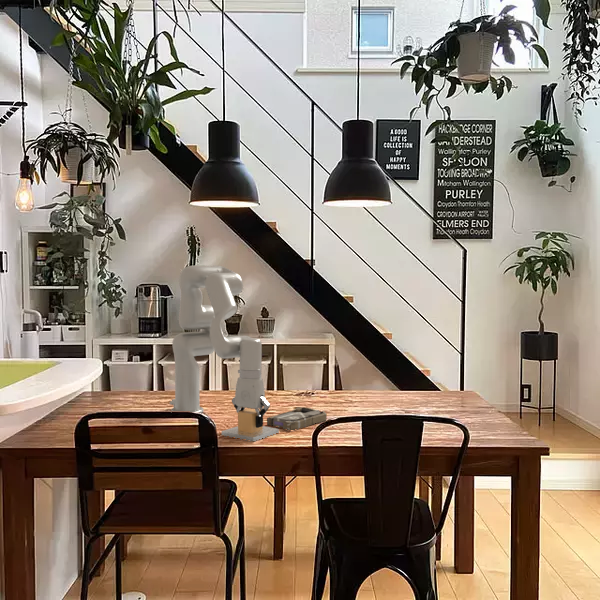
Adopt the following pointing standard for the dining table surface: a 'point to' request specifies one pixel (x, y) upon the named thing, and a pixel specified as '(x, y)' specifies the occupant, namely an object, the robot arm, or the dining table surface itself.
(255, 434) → the plate
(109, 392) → the dining table surface
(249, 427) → the wooden toy block
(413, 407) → the dining table surface
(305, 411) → the grey flat case
